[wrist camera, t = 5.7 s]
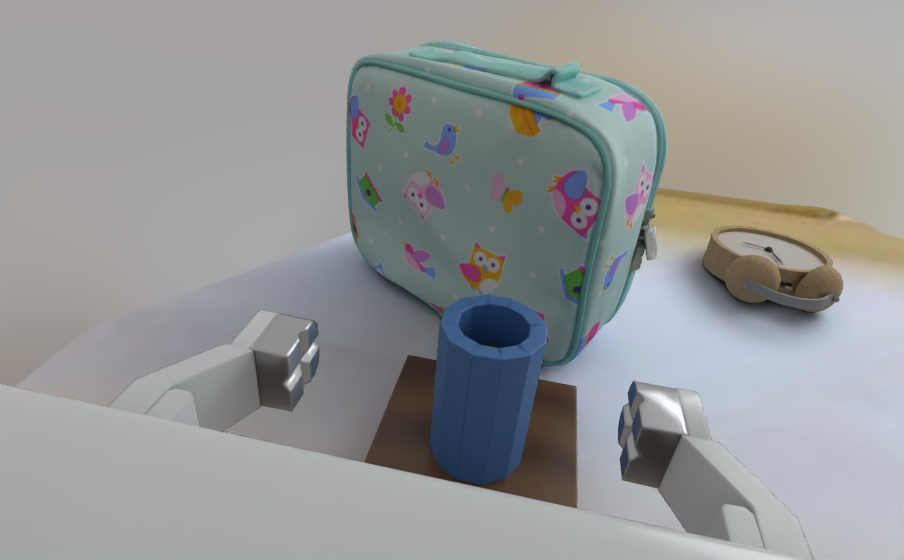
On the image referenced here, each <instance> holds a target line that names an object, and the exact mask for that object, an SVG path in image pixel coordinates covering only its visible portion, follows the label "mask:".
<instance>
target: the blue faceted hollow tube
mask: <svg viewBox="0 0 904 560" xmlns="http://www.w3.org/2000/svg"><path fill="white" fill-rule="evenodd" d="M546 341H547V325H546V324H545V322H544V321H543V320H542V319H541V317H540V316H539V315H538V314H537V312H536V311H534V309H532V308H530V307H528V306H526V305H524V304H522V303H520V302H518V301H516V300H514V299H511V298H505V297H499V296H493V295H481V296H473V297H465V298H462V299H460V300H458V301H457V302H455V303H453V304H452V305H450V306H448V307H447V308H446V309H445V311H444V314H443V316H442V319H441V322H440V328H439V340H438V352H437V363H436V375H435V387H434V398H433V410H432V422H431V433H430V448H431V451H432V453H433V456H434V458H435V461H436V463H437V465H438V466H439V467H440V468H442V469H443V470H444V471H446V472H447V473H448V474H449V475H451V476H452V477H453V478H455V479H458V480H462V481H466V482H471V483H476V484H482V485H484V484H488V483H492V482H496V481H500V480H504V479H505V478H507V477H508V476H509V475H510V474H511V473H512V472H513V471H514V470H515V468H516V467H517V466H518V465H519V464H520V462H521V457H522V453H523V448H524V443H525V439H526V434H527V430H528V425H529V420H530V416H531V411H532V407H533V402H534V397H535V393H536V388H537V384H538V379H539V374H540V370H541V365H542V360H543V356H544V351H545V347H546ZM485 343H489V344H495V345H498V346H500V347H501V348H494V347H489V346H483V345H480V344H485Z"/></svg>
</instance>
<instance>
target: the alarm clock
mask: <svg viewBox="0 0 904 560" xmlns="http://www.w3.org/2000/svg"><path fill="white" fill-rule="evenodd" d="M703 262H704V266H705V267H706V268H707V269H708V270H709V271H710V272H711V273H712V274H713V275H715V276H716V277H718V278H720V279H721V280H723V281H724V282H726V286H727V288H728V290H729V292H730V293H731V294H732V295H733V296H734V297H736V298H737V299H739V300H741V301H744V302H749V303H759V302H762V301H765V300H770V301H773V302H776V303H778V304H782V305H785V306H789V307H794V308H799V309H801V310H803V311H807V312H818V311H822V310H825V309H827V308H829V307H830V306H831V305H833V304H834V303H835V302H838V301H839V296H840V295H841V292H842V290H843V280H842V277H841V275H840V273H839V272H838V271H837V270H835V269H834V268H833V267H832V265H833V261H832V260H831V259H830V257H829V256H828V255H827V254H825V253H824V252H822V251H821V250H820V249H818V248H816V247H814V246H812V245H810V244H808V243H806V242H804V241H801V240H798V239H796V238H793V237H790V236H787V235H784V234H780V233H776V232H773V231H769V230H764V229H758V228H753V227H742V226H725V227H721V228H717V229H715V230H714V231H713V232H712V233H711V238H710V241H709V244H708V247H707V250H706V253H705V256H704V257H703Z"/></svg>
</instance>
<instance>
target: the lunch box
mask: <svg viewBox="0 0 904 560" xmlns="http://www.w3.org/2000/svg"><path fill="white" fill-rule="evenodd" d="M579 69H580V65H579V63H577V62H571V63H568V64H566V65H564V66H561V67H555V66H549V65H544V64H540V63H535V62H531V61H526V60H522V59H518V58H514V57H509V56H506V55H501V54H497V53H493V52H488V51H484V50H481V49H478V48H475V47H472V46H469V45H466V44H461V43H457V42H451V41H434V42H429V43H426V44H422V45H420V46H418V47H414V48H410V49H406V50H401V51H396V52H391V53H386V54H373V55H368V56H364V57H362V58H361V59H359V60H358V61H357V62H356V63H355V65H354V67H353V68H352V71H351V75H350V80H349V85H348V94H347V187H348V204H349V215H350V224H351V230H352V235H353V238H354V241H355V243H356V246H357V247H358V249H359V251H360V253H361V254H362V256H363V257H364V259H365V260H366V261H367V262H368V263H369V264H370V266H371V267H373V268H374V270H376V271H377V272H378V273H379V274H381V275H382V276H384V277H385V278H387V279H389V280H390V281H392V282H394V283H395V284H397V285H399V286H401V287H402V288H404V289H406V290H407V291H409V292H410V293H412V294H413V295H415V296H416V297H418V298H419V299H421V300H422V301H424V302H425V303H426V304H428V305H429V306H431V307H432V308H433V309H435V310H436V311H437V312H439V315H440V316H443V314H444V311H445V309H446V308H447V307H448V306H450V305H452V304H453V303H455V302H457V301H458V300H460V299H462V298H465V297H473V296H481V295H493V296H499V297H505V298H511V299H514V300H516V301H518V302H520V303H522V304H524V305H526V306H528V307H530V308H532V309H534V311H536V312H537V314H538V315H539V316H540V317H541V319H542V320H543V321H544V322H545V324H546V325H547V341H546V347H545V351H544V356H543V360H542V365H546V366H560V365H564V364H567V363H569V362H570V361H572V360H573V359H574V358H575V357H576V356H577V355H578V354H579V353H580V352H581V350H582V349H583V348H584V346H585V345H586V344H587V343H588V342H589V341H590V340H591V339H592V338H593V337H594V336H595V334H596V333H597V332H598V331H599V330H600V329H601V327H602V326H603V325H604V324H606V323H608V322H609V321H610V320H611V319H612V318H613V317H614V316H615V314H616V313H617V311H618V310H619V308H620V307H621V305H622V304H623V302H624V300H625V298H626V296H627V294H628V291H629V289H630V286H631V283H632V280H633V277H634V274H635V271H636V270H638V269H639V268H640V265H641V262H642V256H643V254H644V250H645V249H646V257H647V260H652V259H655V258H656V255H657V246H656V229H655V226H652V227H649V225H650V221H651V219H652V218H654V217H655V215H656V214H655V213H654V208H652V206H653V203H654V199H655V195H656V192H657V189H658V186H659V182H660V179H661V175H662V171H663V167H664V163H665V160H666V157H667V148H668V136H667V131H666V126H665V123H664V120H663V117H662V114H661V112H660V111H659V109H658V108H657V106H656V105H655V103H654V102H653V101H652V100H651V99H650V98H649V97H648V96H647V95H646V94H644V93H643V92H642V91H640V90H639V89H637V88H635V87H633V86H632V85H630V84H628V83H625V82H623V81H620V80H617V79H614V78H610V77H607V76H603V75H598V74H593V73H588V72H583V71H579ZM643 249H644V250H643Z"/></svg>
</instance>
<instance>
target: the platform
mask: <svg viewBox="0 0 904 560" xmlns="http://www.w3.org/2000/svg"><path fill="white" fill-rule="evenodd" d="M480 345H483V346H489V347H494V348H501V347H500V346H498V345H495V344H489V343H485V344H480ZM436 363H437V360H432V359H427V358H421V357H416V356H411V355H408V356H407V359H406V361H405V364H404V366H403V369H402V371H401V374H400V376H399V378H398V381H397V383H396V386H395V388H394V391H393V393H392V396H391V398H390V401H389V403H388V406H387V408H386V411H385V413H384V415H383V418H382V420H381V423H380V425H379V428H378V430H377V433H376V435H375V438H374V440H373V443H372V445H371V447H370V450H369V452H368V455H367V457H366V460H365V462H364V463H368V464H373V465H378V466H382V467H387V468H392V469H396V470H401V471H405V472H410V473H415V474H419V475H424V476H429V477H433V478H438V479H443V480H447V481H452V482H457V483H461V484H466V485H471V486H475V487H480V488H485V489H489V490H494V491H498V492H503V493H508V494H512V495H517V496H521V497H526V498H530V499H535V500H540V501H544V502H549V503H553V504H558V505H563V506H567V507H572V508H576V509H577V388H576V386H571V385H566V384H561V383H555V382H550V381H545V380H539V379H538V384H537V388H536V393H535V397H534V402H533V407H532V411H531V416H530V420H529V425H528V430H527V434H526V439H525V443H524V448H523V453H522V457H521V462H520V464H519V465H518V466H517V467H516V468H515V470H514V471H513V472H512V473H511V474H510V475H509V476H508V477H507V478H505V479H504V480H500V481H496V482H492V483H488V484H484V485H482V484H476V483H471V482H466V481H462V480H458V479H455V478H453V477H452V476H451V475H449V474H448V473H447V472H446V471H444V470H443V469H442V468H440V467H439V466H438V465H437V463H436V461H435V458H434V456H433V453H432V451H431V448H430V433H431V422H432V410H433V398H434V387H435V375H436Z"/></svg>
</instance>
